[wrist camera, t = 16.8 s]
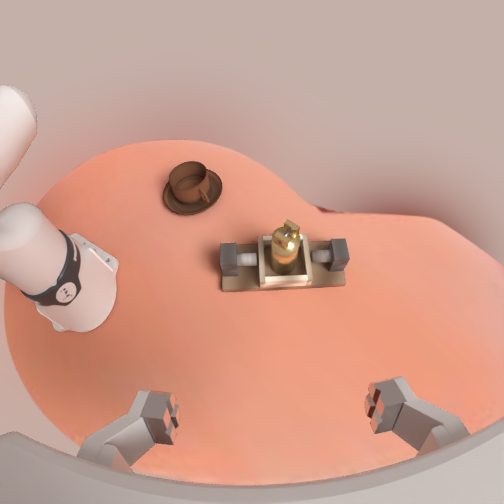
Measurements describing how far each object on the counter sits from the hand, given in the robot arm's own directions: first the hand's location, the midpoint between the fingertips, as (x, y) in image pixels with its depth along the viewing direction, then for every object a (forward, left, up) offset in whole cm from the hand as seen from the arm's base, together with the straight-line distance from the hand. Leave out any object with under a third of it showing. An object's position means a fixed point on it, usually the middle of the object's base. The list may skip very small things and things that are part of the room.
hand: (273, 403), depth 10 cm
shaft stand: (-11, +19, -31) cm, 38 cm away
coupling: (-11, +18, -30) cm, 37 cm away
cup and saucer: (-34, +21, -32) cm, 51 cm away
